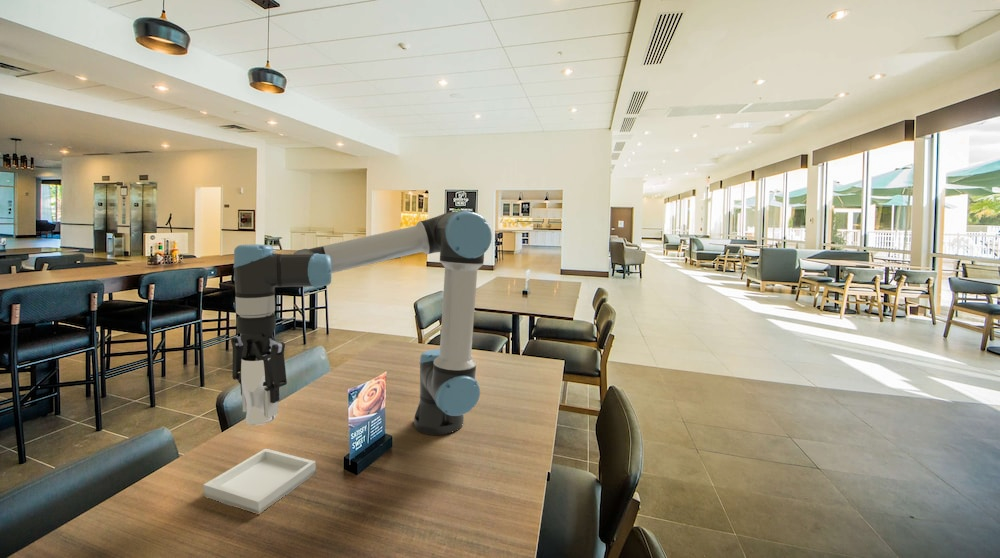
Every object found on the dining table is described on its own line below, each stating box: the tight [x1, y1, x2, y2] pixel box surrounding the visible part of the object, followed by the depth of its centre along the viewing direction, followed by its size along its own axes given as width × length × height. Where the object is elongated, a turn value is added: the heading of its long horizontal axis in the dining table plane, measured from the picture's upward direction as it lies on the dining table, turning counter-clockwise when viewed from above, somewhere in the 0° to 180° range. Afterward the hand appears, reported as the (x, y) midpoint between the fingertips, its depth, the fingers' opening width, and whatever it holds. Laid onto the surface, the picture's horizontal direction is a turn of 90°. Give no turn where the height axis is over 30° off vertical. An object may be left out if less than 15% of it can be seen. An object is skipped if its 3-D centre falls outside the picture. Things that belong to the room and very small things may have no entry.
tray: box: [202, 448, 317, 513], centre depth 96 cm, size 16×16×3 cm
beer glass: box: [241, 354, 277, 426], centre depth 95 cm, size 7×7×15 cm
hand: (260, 412), depth 95 cm, fingers closed on beer glass, 6 cm apart
